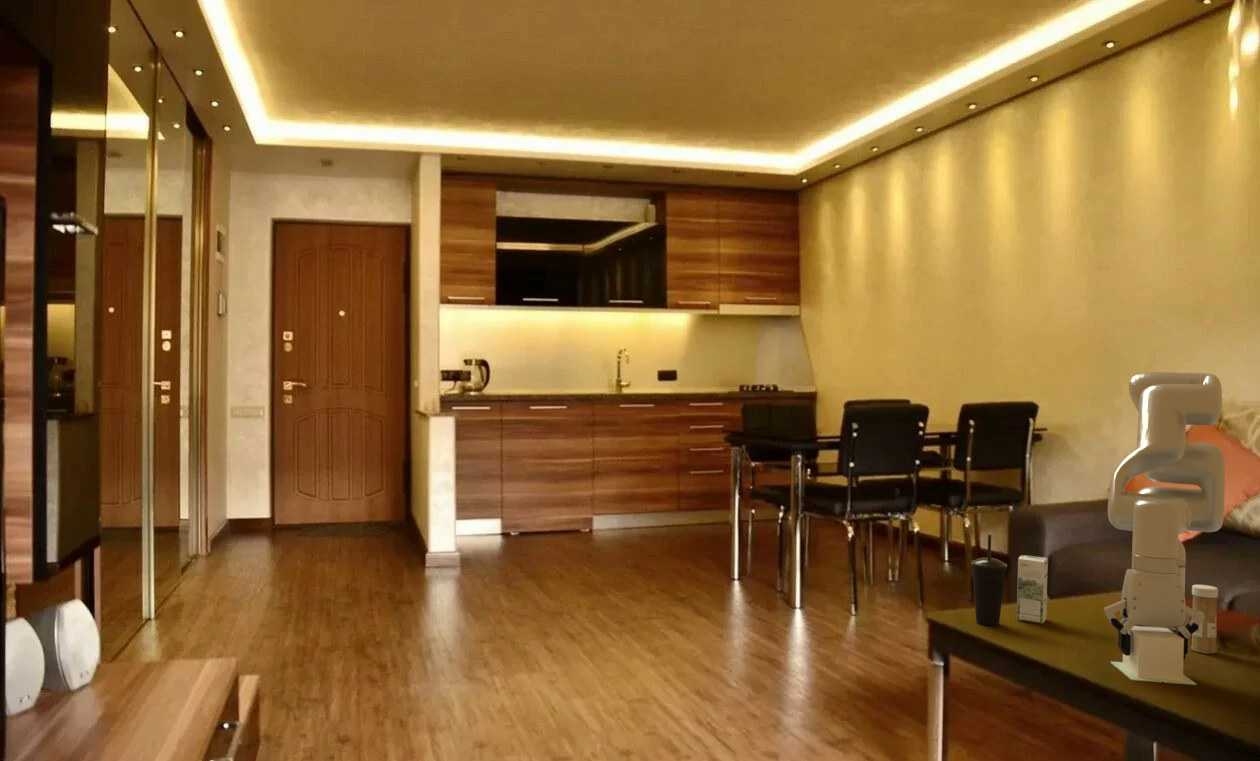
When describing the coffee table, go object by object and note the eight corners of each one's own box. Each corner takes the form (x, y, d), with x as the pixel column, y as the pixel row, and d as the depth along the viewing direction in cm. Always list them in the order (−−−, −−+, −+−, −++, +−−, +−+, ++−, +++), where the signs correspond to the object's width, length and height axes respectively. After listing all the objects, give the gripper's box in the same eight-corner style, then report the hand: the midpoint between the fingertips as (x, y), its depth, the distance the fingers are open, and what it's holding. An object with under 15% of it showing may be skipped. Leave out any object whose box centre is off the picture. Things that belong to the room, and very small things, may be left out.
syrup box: (1046, 619, 212) (1048, 557, 212) (1042, 624, 207) (1044, 560, 207) (1020, 615, 215) (1022, 553, 215) (1016, 620, 210) (1017, 557, 210)
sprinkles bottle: (1219, 655, 186) (1221, 589, 186) (1194, 653, 187) (1195, 587, 187) (1212, 649, 190) (1214, 585, 190) (1187, 647, 191) (1189, 583, 191)
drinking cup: (999, 619, 210) (1001, 533, 210) (1010, 628, 203) (1012, 538, 203) (965, 618, 211) (967, 531, 211) (974, 626, 203) (977, 537, 203)
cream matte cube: (1165, 668, 176) (1166, 628, 176) (1182, 681, 168) (1183, 639, 168) (1122, 665, 177) (1123, 625, 177) (1137, 678, 169) (1138, 636, 169)
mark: (1171, 666, 177) (1171, 665, 177) (1196, 685, 166) (1196, 683, 166) (1110, 662, 179) (1110, 661, 179) (1131, 680, 168) (1131, 679, 168)
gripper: (1195, 563, 175) (1193, 653, 175) (1098, 558, 178) (1096, 646, 178) (1213, 571, 167) (1211, 665, 167) (1112, 566, 170) (1110, 658, 170)
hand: (1152, 655), depth 173 cm, fingers open, 9 cm apart
